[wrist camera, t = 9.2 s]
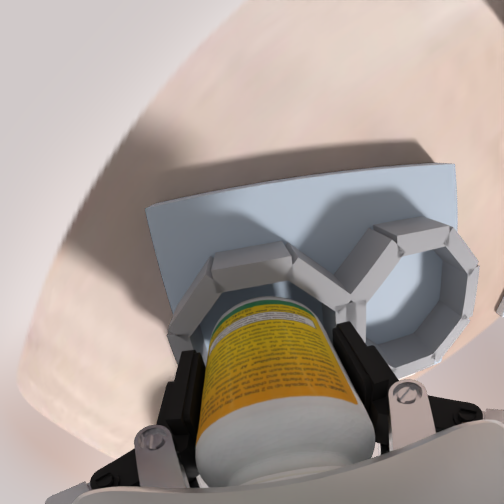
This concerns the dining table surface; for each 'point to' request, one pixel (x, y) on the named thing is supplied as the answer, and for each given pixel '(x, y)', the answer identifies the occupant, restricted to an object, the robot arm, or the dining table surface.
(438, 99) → the dining table surface
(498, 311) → the external hard drive
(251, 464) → the supplement bottle
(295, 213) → the socket board
